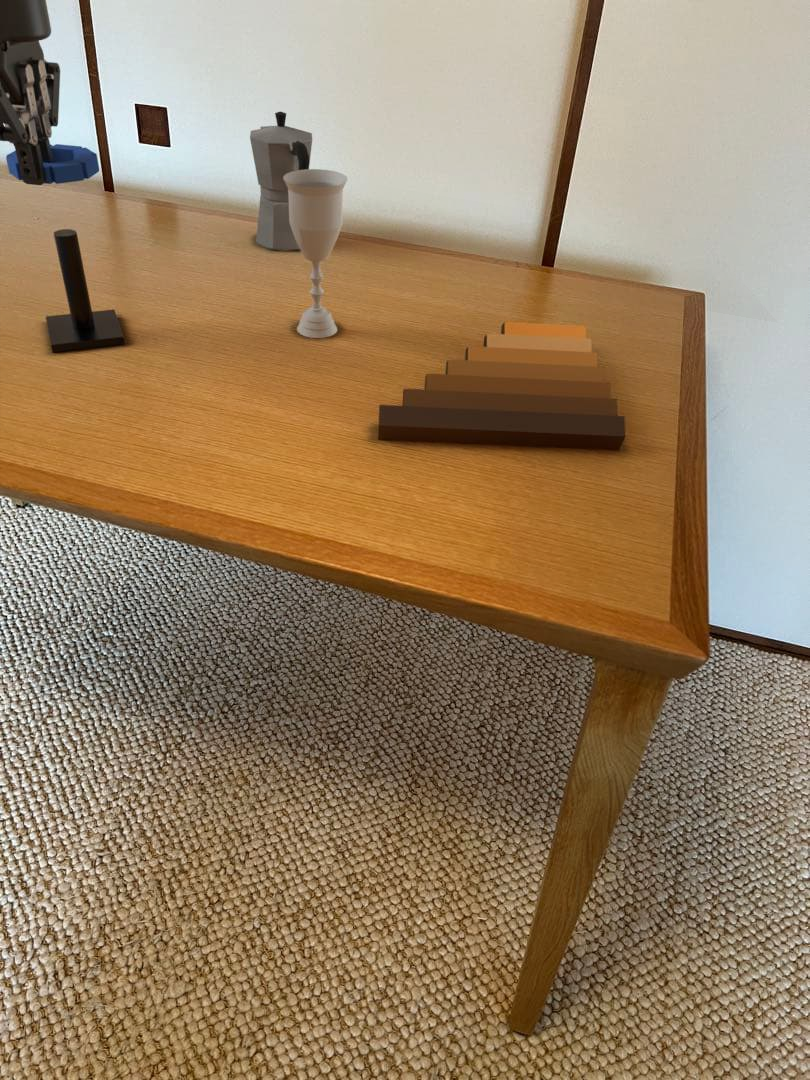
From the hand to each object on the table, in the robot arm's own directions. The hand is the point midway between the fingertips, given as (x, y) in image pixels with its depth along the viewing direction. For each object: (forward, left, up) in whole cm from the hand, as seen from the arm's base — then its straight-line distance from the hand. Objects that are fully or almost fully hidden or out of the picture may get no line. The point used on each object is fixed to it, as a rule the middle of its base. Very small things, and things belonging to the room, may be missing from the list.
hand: (39, 180), depth 83 cm
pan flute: (+42, -23, -19) cm, 52 cm away
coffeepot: (+33, +27, -19) cm, 47 cm away
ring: (+2, +3, 0) cm, 3 cm away
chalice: (+28, -3, -19) cm, 34 cm away
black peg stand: (+1, +3, -18) cm, 19 cm away
